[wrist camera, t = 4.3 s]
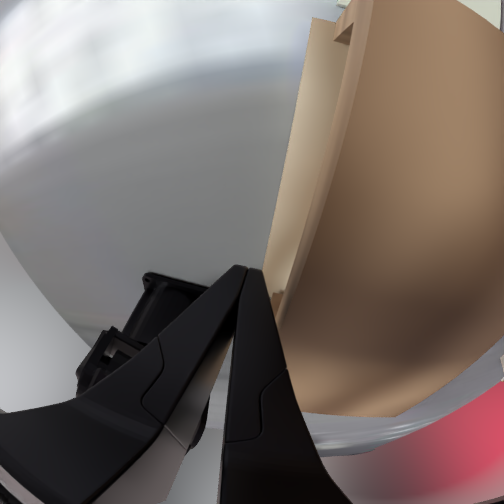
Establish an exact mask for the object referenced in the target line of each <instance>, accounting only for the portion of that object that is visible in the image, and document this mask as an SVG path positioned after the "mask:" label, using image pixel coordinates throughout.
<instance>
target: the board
mask: <svg viewBox="0 0 504 504" xmlns="http://www.w3.org/2000/svg"><path fill="white" fill-rule="evenodd" d="M335 28H336V23H335V22H331V21H327V20H322V19H318V18H313V17H312V22H311V28H310V34H309V39H308V45H307V50H306V56H305V61H304V67H303V72H302V77H301V83H300V88H299V93H298V98H297V104H296V109H295V114H294V119H293V124H292V129H291V134H290V140H289V145H288V150H287V155H286V160H285V164H284V169H283V174H282V179H281V184H280V189H279V194H278V199H277V203H276V208H275V213H274V218H273V223H272V227H271V232H270V237H269V241H268V246H267V251H266V255H265V260H264V265H263V269H262V271H263V274H264V278H265V282H266V286H267V289H268V293H269V297H272V294H273V292H274V293H279V294H284V291H285V288H286V285H287V282H288V279H289V275H290V272H291V269H292V266H293V263H294V260H295V256H296V253H297V250H298V247H299V243H300V240H301V237H302V233H303V230H304V227H305V223H306V220H307V216H308V213H309V209H310V206H311V202H312V199H313V195H314V192H315V188H316V185H317V181H318V177H319V174H320V170H321V166H322V162H323V158H324V155H325V151H326V147H327V143H328V139H329V135H330V131H331V127H332V123H333V119H334V115H335V110H336V106H337V102H338V97H339V93H340V89H341V84H342V79H343V75H344V70H345V65H346V61H347V56H348V51H349V46H350V45H346V44H343V43H339V42H335V41H333V38H334V33H335Z"/></svg>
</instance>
